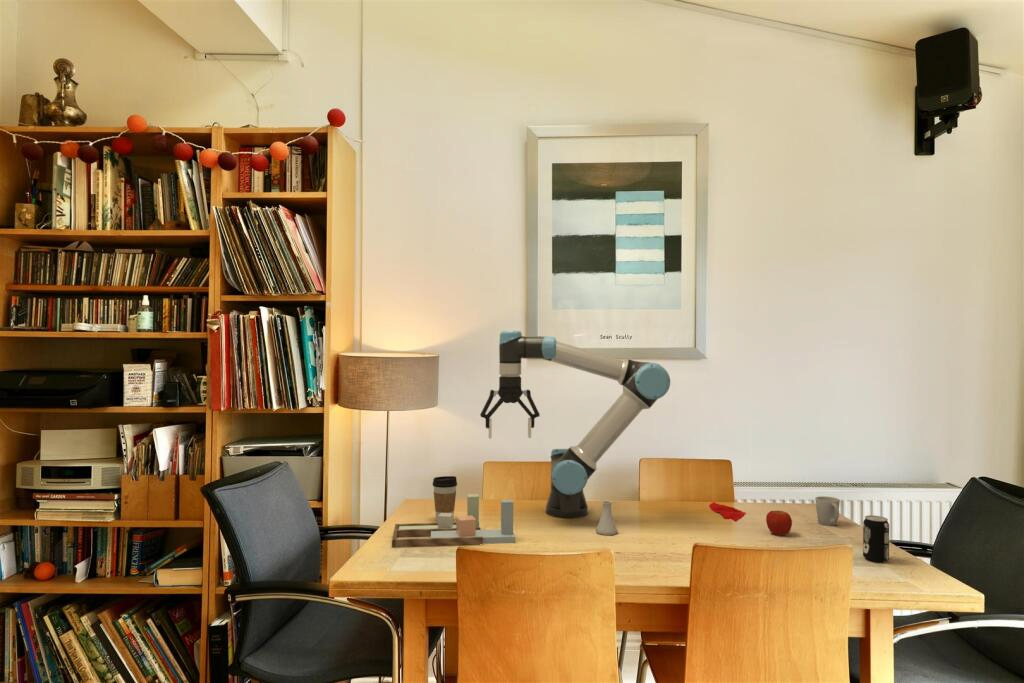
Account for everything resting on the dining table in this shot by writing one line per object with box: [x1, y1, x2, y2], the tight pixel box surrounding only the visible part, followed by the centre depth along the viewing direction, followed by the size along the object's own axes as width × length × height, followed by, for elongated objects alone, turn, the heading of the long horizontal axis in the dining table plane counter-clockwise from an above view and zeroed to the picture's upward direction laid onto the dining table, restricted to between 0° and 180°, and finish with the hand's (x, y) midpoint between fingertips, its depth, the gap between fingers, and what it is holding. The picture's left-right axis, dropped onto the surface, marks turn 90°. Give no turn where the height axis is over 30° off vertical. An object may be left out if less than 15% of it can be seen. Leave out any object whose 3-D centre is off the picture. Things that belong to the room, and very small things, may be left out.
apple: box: [765, 510, 793, 536], centre depth 219 cm, size 8×8×8 cm
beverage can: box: [862, 514, 890, 564], centre depth 194 cm, size 7×7×12 cm
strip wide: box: [430, 499, 516, 544], centre depth 211 cm, size 26×8×12 cm, turn 97°
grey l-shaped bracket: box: [399, 493, 480, 530], centre depth 218 cm, size 26×5×12 cm, turn 97°
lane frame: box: [391, 521, 484, 549], centre depth 213 cm, size 27×18×2 cm, turn 97°
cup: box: [815, 495, 841, 527], centre depth 231 cm, size 8×10×8 cm
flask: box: [595, 500, 619, 536], centre depth 220 cm, size 7×7×10 cm
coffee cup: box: [432, 475, 458, 523], centre depth 233 cm, size 8×8×15 cm
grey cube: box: [437, 513, 454, 528], centre depth 218 cm, size 4×4×4 cm
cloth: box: [708, 501, 747, 523], centre depth 247 cm, size 26×14×2 cm, turn 169°
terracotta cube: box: [455, 515, 476, 537], centre depth 211 cm, size 5×5×5 cm
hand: (509, 437), depth 232 cm, fingers open, 13 cm apart
